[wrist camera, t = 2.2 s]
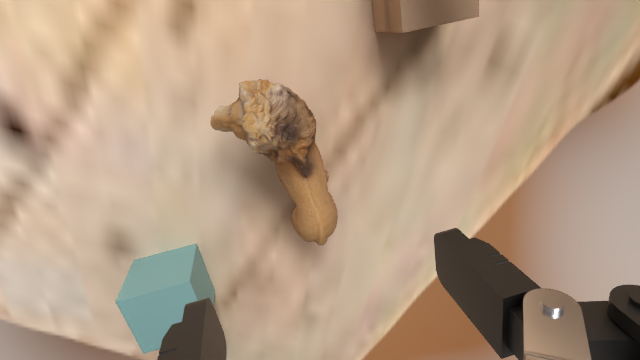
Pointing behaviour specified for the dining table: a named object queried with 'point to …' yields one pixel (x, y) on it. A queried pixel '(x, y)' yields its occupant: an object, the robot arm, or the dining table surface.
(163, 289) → the teal block
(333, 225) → the lion figurine
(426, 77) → the dining table surface
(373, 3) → the walnut block
